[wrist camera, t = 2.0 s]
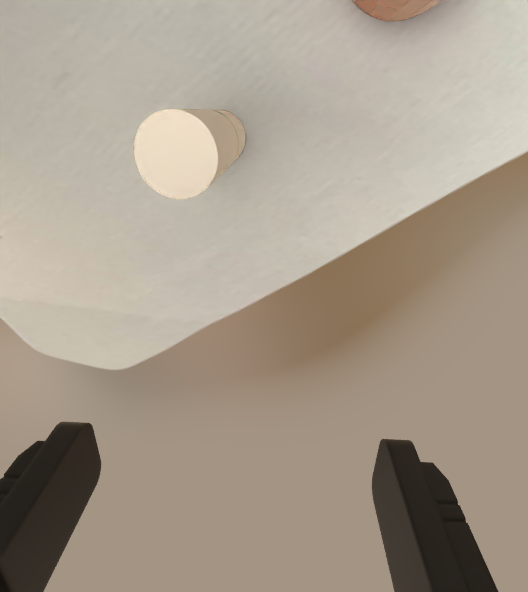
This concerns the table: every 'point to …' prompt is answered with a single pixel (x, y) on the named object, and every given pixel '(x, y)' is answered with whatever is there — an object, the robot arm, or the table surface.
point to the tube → (187, 149)
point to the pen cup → (395, 8)
